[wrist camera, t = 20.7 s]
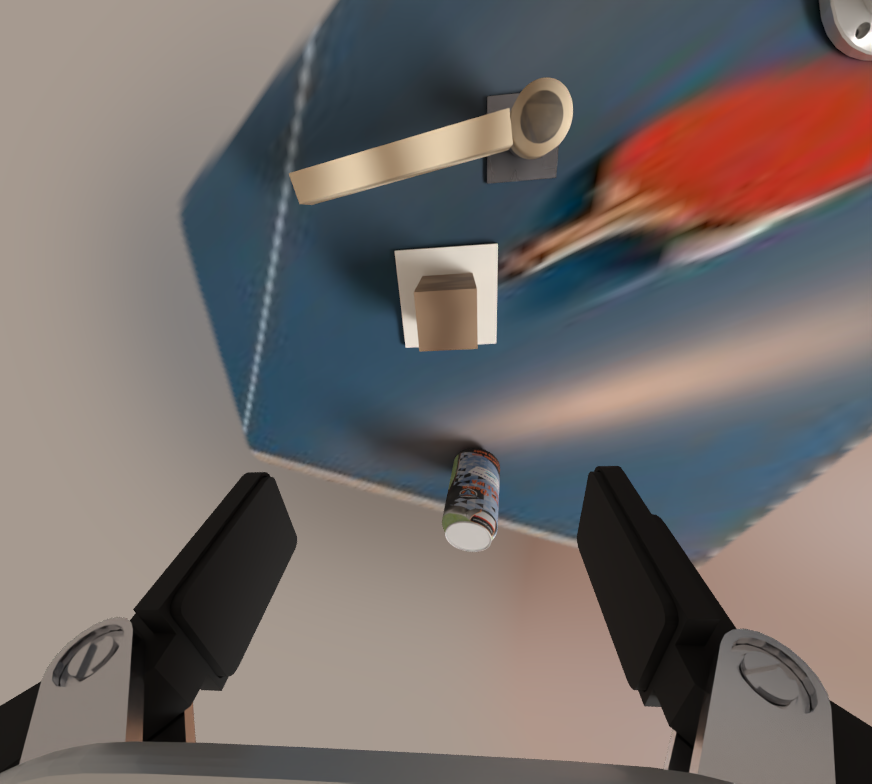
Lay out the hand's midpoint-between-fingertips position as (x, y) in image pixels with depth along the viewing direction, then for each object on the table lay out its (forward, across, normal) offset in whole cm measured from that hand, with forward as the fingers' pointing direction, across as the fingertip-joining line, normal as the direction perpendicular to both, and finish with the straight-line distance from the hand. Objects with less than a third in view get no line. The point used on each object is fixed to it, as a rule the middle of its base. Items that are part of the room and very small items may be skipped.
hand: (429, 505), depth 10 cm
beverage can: (+28, -2, +22) cm, 36 cm away
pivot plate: (+28, -7, -13) cm, 32 cm away
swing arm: (+28, +1, -12) cm, 30 cm away
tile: (+28, 0, 0) cm, 28 cm away
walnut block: (+28, 0, 0) cm, 28 cm away
